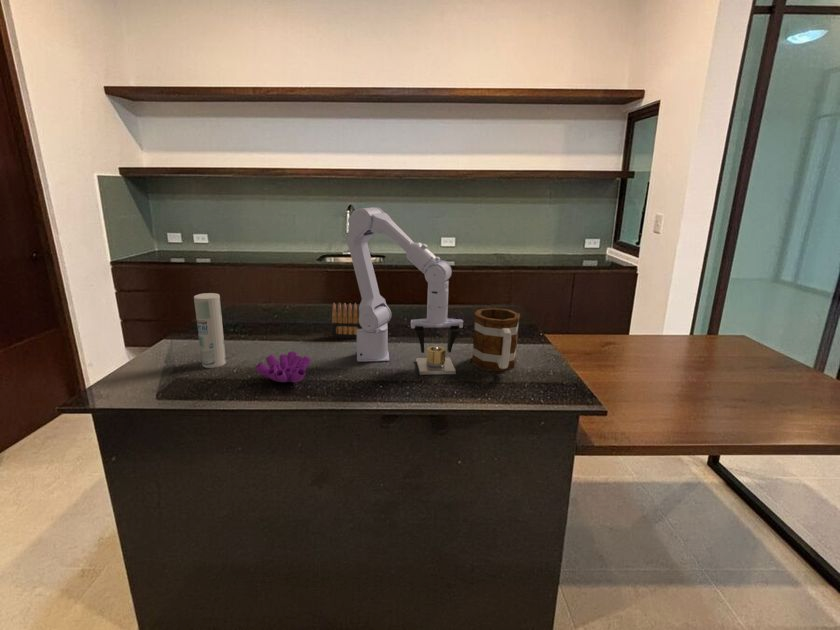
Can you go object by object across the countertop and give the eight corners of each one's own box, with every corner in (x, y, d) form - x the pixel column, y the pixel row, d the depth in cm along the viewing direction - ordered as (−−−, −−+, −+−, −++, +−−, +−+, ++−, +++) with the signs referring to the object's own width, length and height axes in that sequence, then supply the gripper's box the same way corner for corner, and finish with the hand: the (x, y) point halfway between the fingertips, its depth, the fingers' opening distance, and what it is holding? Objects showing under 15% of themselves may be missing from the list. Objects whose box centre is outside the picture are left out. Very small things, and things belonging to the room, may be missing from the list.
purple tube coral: (271, 403, 119) (246, 374, 117) (290, 378, 133) (268, 353, 131) (305, 380, 117) (281, 350, 115) (320, 357, 131) (298, 331, 129)
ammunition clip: (364, 336, 160) (363, 302, 157) (363, 338, 158) (362, 303, 155) (332, 335, 160) (331, 301, 157) (331, 337, 158) (330, 303, 155)
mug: (467, 354, 146) (470, 307, 142) (510, 353, 147) (514, 307, 143) (480, 380, 127) (483, 327, 123) (528, 380, 128) (533, 327, 124)
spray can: (231, 362, 135) (224, 295, 130) (211, 369, 130) (203, 299, 124) (216, 357, 138) (209, 291, 133) (196, 364, 133) (188, 296, 127)
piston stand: (419, 374, 130) (420, 353, 128) (416, 361, 139) (416, 341, 138) (455, 373, 131) (456, 353, 129) (449, 360, 141) (450, 341, 139)
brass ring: (427, 364, 132) (428, 352, 131) (425, 357, 137) (425, 345, 136) (446, 363, 132) (446, 352, 131) (443, 356, 137) (443, 345, 136)
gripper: (412, 309, 125) (411, 356, 129) (466, 309, 127) (463, 356, 131) (410, 302, 132) (409, 347, 136) (461, 302, 134) (458, 347, 138)
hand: (435, 351), depth 134 cm, fingers open, 7 cm apart
